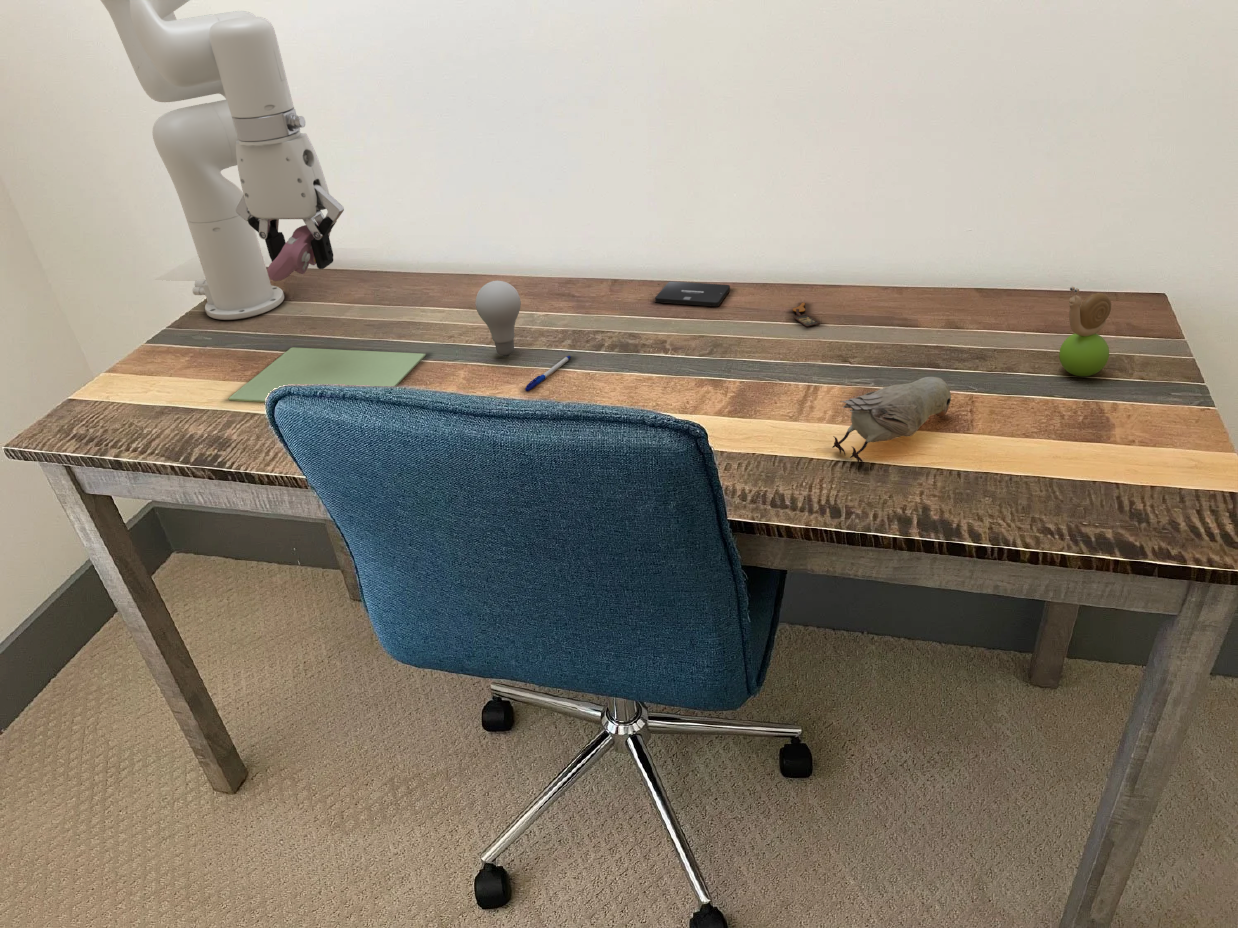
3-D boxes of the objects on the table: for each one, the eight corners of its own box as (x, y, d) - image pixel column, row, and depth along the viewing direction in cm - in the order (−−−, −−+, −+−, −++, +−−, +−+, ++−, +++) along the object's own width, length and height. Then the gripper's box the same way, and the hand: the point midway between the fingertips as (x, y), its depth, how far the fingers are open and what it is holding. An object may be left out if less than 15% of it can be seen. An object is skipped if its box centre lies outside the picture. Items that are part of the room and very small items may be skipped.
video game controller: (295, 294, 126) (305, 247, 122) (263, 279, 126) (272, 232, 122) (329, 266, 134) (339, 222, 130) (299, 252, 134) (308, 208, 130)
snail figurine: (1039, 373, 119) (1055, 280, 112) (1080, 360, 121) (1097, 269, 114) (1073, 390, 114) (1091, 295, 108) (1114, 377, 116) (1134, 283, 110)
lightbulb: (535, 349, 137) (525, 275, 131) (514, 368, 132) (502, 292, 126) (499, 344, 139) (487, 272, 133) (476, 362, 134) (463, 288, 129)
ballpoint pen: (530, 393, 125) (529, 386, 125) (524, 392, 126) (523, 385, 125) (571, 359, 133) (571, 353, 132) (566, 358, 133) (565, 352, 133)
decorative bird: (962, 425, 110) (969, 365, 106) (858, 473, 103) (862, 412, 99) (926, 407, 114) (931, 350, 110) (823, 453, 107) (826, 394, 103)
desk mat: (228, 400, 131) (228, 398, 131) (292, 349, 144) (291, 347, 144) (373, 409, 125) (373, 407, 125) (426, 355, 138) (425, 353, 138)
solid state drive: (717, 307, 144) (717, 302, 143) (654, 302, 147) (654, 298, 147) (730, 289, 149) (730, 285, 149) (669, 285, 153) (669, 281, 152)
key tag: (821, 325, 135) (821, 321, 135) (800, 328, 135) (800, 324, 135) (804, 303, 142) (804, 299, 142) (784, 305, 142) (784, 302, 142)
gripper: (343, 118, 121) (374, 256, 130) (225, 121, 125) (264, 254, 135) (312, 133, 115) (347, 276, 124) (189, 136, 119) (232, 274, 129)
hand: (303, 264), depth 129 cm, fingers closed on video game controller, 6 cm apart
